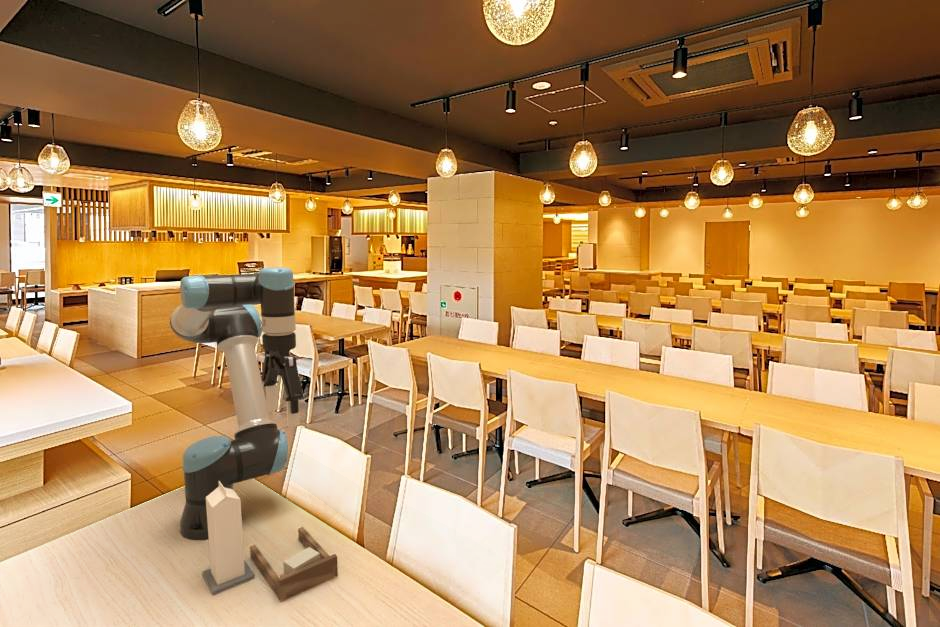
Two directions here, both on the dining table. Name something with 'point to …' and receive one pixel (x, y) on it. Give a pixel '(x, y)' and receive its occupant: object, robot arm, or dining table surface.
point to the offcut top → (301, 560)
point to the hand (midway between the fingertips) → (282, 417)
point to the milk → (225, 534)
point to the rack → (301, 577)
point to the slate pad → (229, 584)
